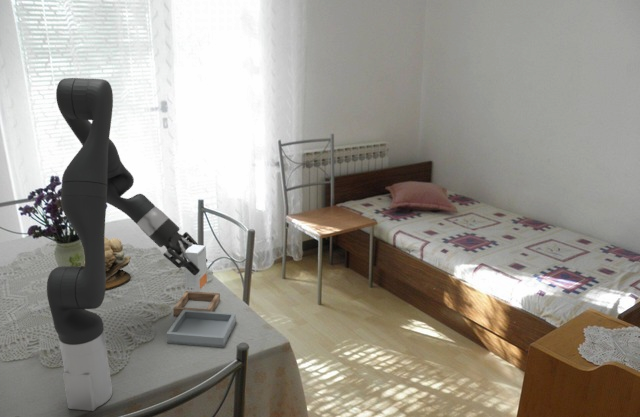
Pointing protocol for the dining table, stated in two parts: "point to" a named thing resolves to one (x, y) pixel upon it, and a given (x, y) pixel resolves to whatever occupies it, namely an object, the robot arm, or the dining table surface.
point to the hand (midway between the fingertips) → (201, 267)
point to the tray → (202, 328)
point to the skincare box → (199, 259)
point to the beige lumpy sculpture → (115, 264)
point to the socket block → (197, 296)
